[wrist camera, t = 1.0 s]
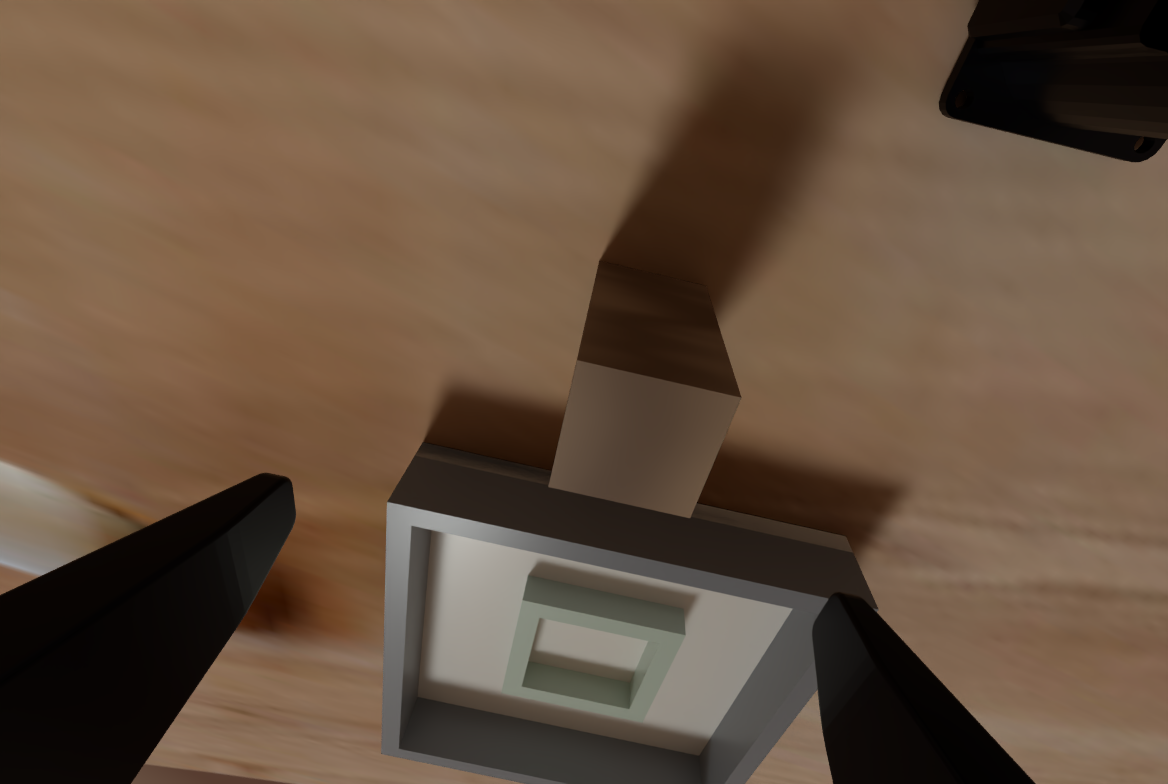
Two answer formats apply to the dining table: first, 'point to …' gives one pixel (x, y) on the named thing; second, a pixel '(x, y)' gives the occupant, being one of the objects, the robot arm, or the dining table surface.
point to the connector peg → (646, 394)
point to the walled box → (593, 629)
